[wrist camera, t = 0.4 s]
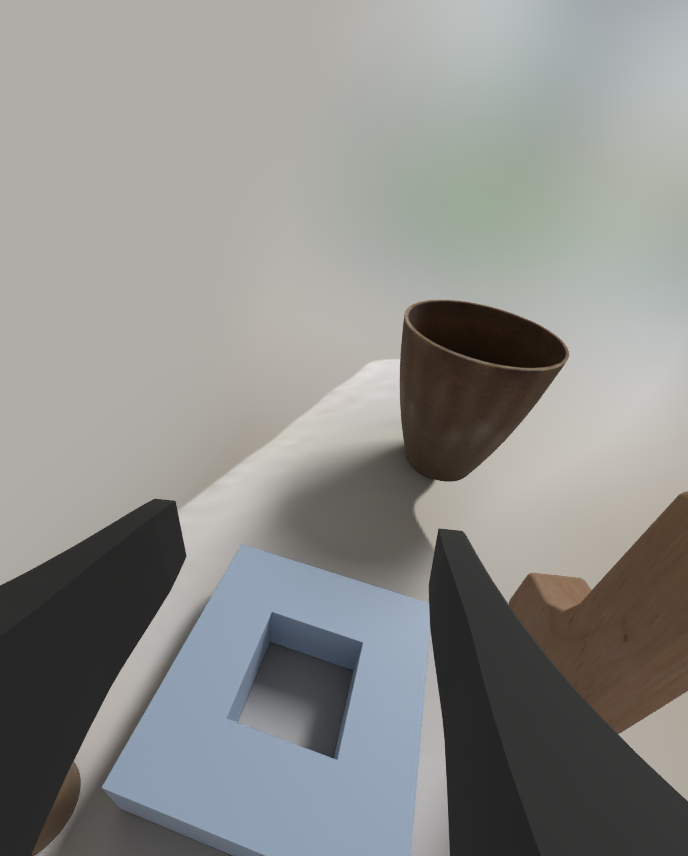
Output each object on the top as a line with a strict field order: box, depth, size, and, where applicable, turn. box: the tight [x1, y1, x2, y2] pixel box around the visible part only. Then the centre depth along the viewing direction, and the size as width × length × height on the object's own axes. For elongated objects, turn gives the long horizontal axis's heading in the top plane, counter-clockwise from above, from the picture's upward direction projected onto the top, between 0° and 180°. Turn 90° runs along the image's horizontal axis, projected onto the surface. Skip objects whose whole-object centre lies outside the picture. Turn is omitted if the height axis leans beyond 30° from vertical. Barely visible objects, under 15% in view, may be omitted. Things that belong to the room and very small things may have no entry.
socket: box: [101, 544, 430, 856], centre depth 24 cm, size 14×14×4 cm
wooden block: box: [509, 492, 688, 734], centre depth 24 cm, size 9×4×18 cm, turn 178°
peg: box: [31, 762, 81, 856], centre depth 18 cm, size 4×4×8 cm
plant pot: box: [400, 300, 569, 481], centre depth 42 cm, size 15×15×16 cm
